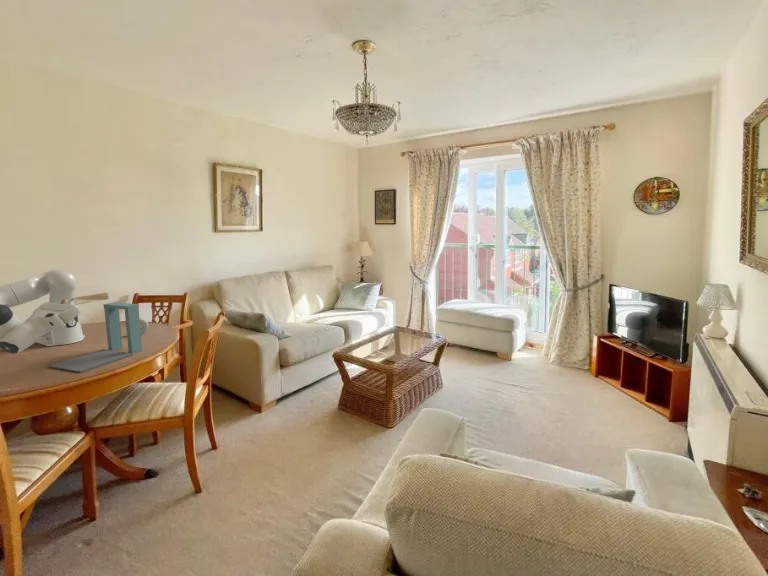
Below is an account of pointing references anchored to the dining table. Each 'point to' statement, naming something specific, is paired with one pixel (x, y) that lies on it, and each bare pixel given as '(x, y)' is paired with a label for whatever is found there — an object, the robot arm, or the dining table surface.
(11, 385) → the dining table surface
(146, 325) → the donut
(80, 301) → the stick
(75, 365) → the mat
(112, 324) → the teal arch
